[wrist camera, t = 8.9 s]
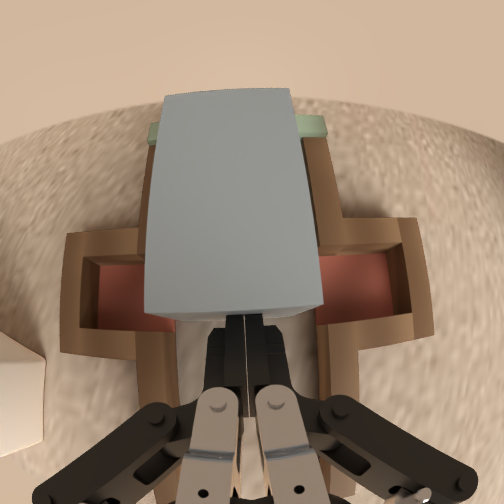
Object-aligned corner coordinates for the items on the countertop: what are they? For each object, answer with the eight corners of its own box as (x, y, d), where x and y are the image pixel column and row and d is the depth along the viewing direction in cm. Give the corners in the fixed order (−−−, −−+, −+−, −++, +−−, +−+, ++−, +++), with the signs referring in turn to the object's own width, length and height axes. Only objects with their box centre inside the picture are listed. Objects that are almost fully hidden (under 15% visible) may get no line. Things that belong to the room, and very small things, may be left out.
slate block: (276, 164, 19) (288, 88, 12) (291, 316, 16) (323, 303, 9) (188, 169, 18) (164, 95, 12) (186, 321, 16) (144, 312, 9)
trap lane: (375, 146, 19) (389, 122, 16) (409, 457, 13) (431, 472, 10) (102, 158, 19) (85, 136, 16) (99, 472, 12) (79, 489, 9)
